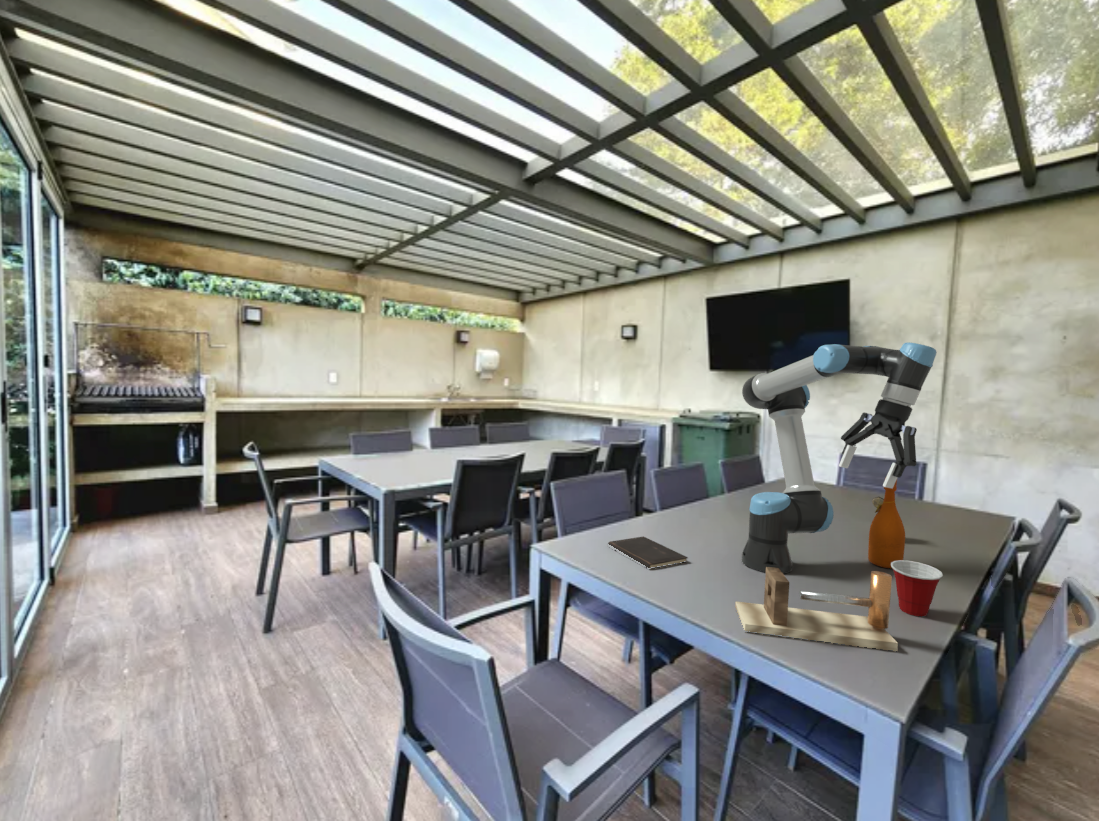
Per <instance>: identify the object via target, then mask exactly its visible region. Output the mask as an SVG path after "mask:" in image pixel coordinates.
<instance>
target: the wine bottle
mask: <svg viewBox="0 0 1099 821" xmlns="http://www.w3.org/2000/svg"><path fill="white" fill-rule="evenodd" d="M886 477H887V476H885V478H884V480H885V479H886ZM897 483H898V479H897V480H896V482H895V484H894V486H893V489H892V488H887V487H884V486H883V489H884V490H885V492H884V498H883V499H884V501H883V504H881V503H880V504H881V505H879V506H878V508H876V509H875V511H874V513H875V515H874V517H873V519H872V521H871V523H870V526H869V532H868V545H867V546H868V549H867V550H868V551H867V552H868V553H867V556H868V557H867V558H868V561H869V562H870V563H871V564H872V565H874V566H876V567H880V568H885V569H889V568H890V570H893V568H892V567H891V563H892V562H894V561H899V560H904V556H905V546H906V545H905V543H906V530H905V526H904V522H903V520H902V518H901V516H900V513H899V511H898V509H897V506H896V494H895V492H896V491H897V488H898V487H897Z"/></svg>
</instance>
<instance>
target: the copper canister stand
mask: <svg viewBox="0 0 1099 821" xmlns="http://www.w3.org/2000/svg"><path fill="white" fill-rule="evenodd" d="M789 594H790V581H789V580H788V578H787V577H786V575H785V573H782V572H781V570H780V569H779V568H774V567H766V572H765V579H764V595H763V604H761V603H753V602H744V601H735V606H734V607H735V608H736V610H737V612H736V614H737V613H738V615H739V617H738V619H739V618H740V619H739V621H740V620H741V622H740V624H741V623H742V624H741V626H742V625H743V627H742V629H743V628H744V629H743V631H744V630H745V631H748V632H749V631H750V632H757V633H765V634H773V635H774V634H775V635H782V636H789V637H794V638H802V639H808V640H807V641H810V640H816V641H815V642H817V641H824V642H823V643H825V642H831V643H830V644H833V643H838V644H837V645H841V644H845V645H844V646H849V645H852V646H851V647H857V646H859V648H864V647H867V648H866V649H872V648H876V649H875V650H880V649H883V650H882V651H888V650H893V651H892V652H896V651H897V652H898V650H899V649H898V647H899V642H897V640H896V639H895V638H893V636H892V635H891V634H890V633H889V632H888V631H887V630H886V629H881V628H877V627H874V626H872V625H870V624H869V623H868V616H865V615H857V614H850V613H849V614H848V613H840V612H830V611H822V610H821V611H820V610H814V609H813V610H812V609H805V608H796V607H790V606H789ZM736 610H735V611H736ZM738 615H737V616H738ZM794 638H793V639H794ZM802 639H801V640H802Z"/></svg>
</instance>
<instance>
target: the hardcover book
mask: <svg viewBox="0 0 1099 821" xmlns="http://www.w3.org/2000/svg"><path fill="white" fill-rule="evenodd" d="M608 544H609V545H611V546H613V547H614V548H616V549H618V550H619V551H621V552H623V553H624V554H626V555H628V556H629V557H631V558H633V559H634V560H636V561H638V562H640V563H641V564H643V565H645V566H646V567H648V568H651V567H657V566H663V565H668V564H674V563H680V562H684V561H686V562H687V559H689V557H688V556H686V555H683V554H682V553H680V552H677V551H676V550H673V549H671V548H669V547H667V546H664V545H663V544H660V543H658V542H656V541H654V540H652V539H651V538H647V537H646V536H638V537H632V538H626V539H618V540H612V541H609V542H608V543H607V545H608Z"/></svg>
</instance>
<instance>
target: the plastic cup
mask: <svg viewBox="0 0 1099 821" xmlns="http://www.w3.org/2000/svg"><path fill="white" fill-rule="evenodd" d="M891 567H892V568H893V569H892V571H893V574H894V578H895V584H896V593H897V594H896V595H897V598H898V599H897V600H898V607H899V609H901V612H903V613H905V614H908V615H910V616H914V617H919V616H921V618H922V616H925V617H927V616H928V614H929V610H930V606H931V604H932V603H933V599H934V595H935V592H936V589H937V586H938V585H939V582H940V579H941V578H942V577H943V576H944V575H943V572H942V571H941V570H939V569H938V568H936V567H933V566H931V565H929V564H925V563H922V562H918V561H912V560H904V559H903V560H899V561H894V562H892V563H891Z"/></svg>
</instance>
